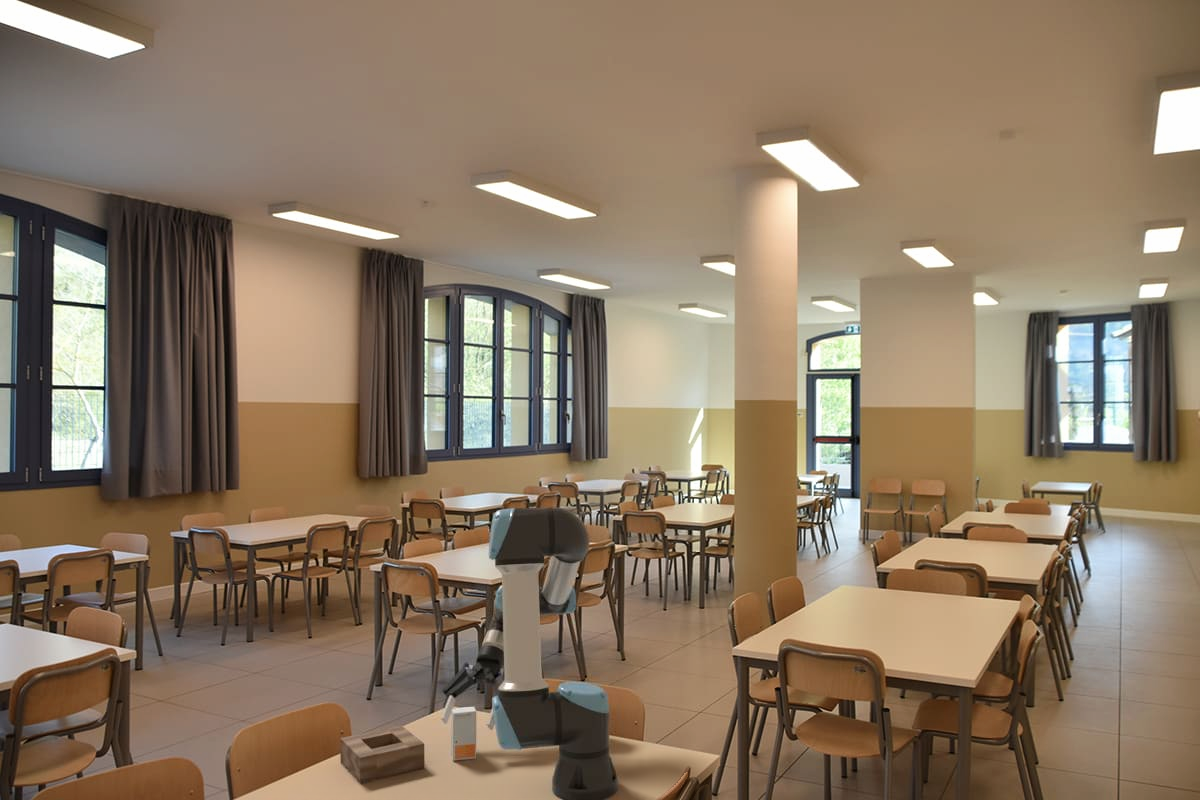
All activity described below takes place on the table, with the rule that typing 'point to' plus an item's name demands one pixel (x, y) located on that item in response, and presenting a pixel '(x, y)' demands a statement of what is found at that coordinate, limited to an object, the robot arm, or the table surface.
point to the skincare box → (463, 733)
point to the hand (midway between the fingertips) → (466, 724)
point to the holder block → (381, 753)
